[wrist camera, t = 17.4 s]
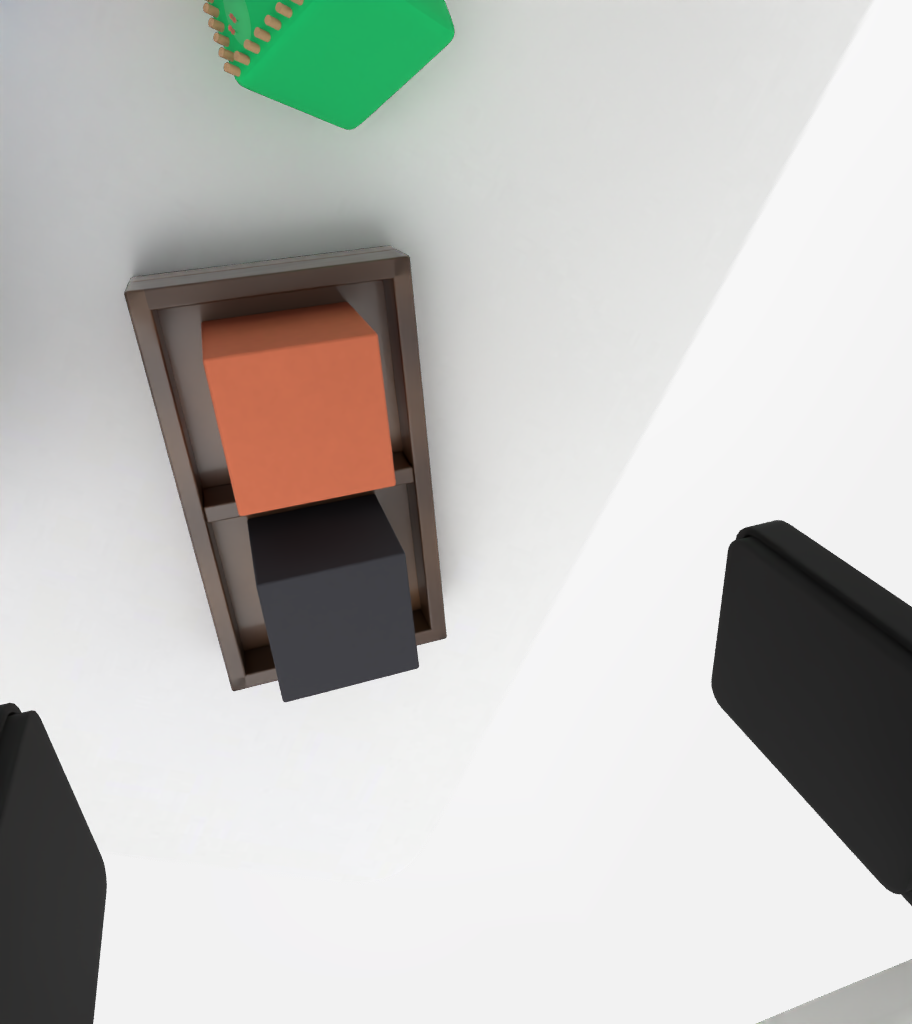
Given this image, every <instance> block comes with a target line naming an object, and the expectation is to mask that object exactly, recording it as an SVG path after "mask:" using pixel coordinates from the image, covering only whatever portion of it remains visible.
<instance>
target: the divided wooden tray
mask: <svg viewBox="0 0 912 1024" xmlns="http://www.w3.org/2000/svg"><path fill="white" fill-rule="evenodd" d="M124 295H125V299H126V302H127V306H128V310H129V313H130V317H131V321H132V324H133V328H134V332H135V335H136V339H137V343H138V346H139V350H140V354H141V357H142V361H143V365H144V368H145V372H146V376H147V379H148V383H149V387H150V390H151V394H152V398H153V401H154V405H155V409H156V412H157V416H158V420H159V423H160V427H161V431H162V434H163V438H164V442H165V446H166V449H167V453H168V457H169V460H170V464H171V468H172V471H173V475H174V479H175V482H176V486H177V490H178V493H179V497H180V501H181V504H182V508H183V512H184V515H185V519H186V523H187V526H188V530H189V534H190V537H191V541H192V545H193V548H194V552H195V556H196V559H197V563H198V567H199V570H200V574H201V578H202V581H203V585H204V589H205V592H206V596H207V600H208V604H209V607H210V611H211V615H212V618H213V622H214V626H215V629H216V633H217V637H218V640H219V644H220V648H221V651H222V655H223V659H224V662H225V666H226V670H227V673H228V677H229V681H230V684H231V688H232V690H233V691H237V690H241V689H245V688H249V687H253V686H257V685H261V684H265V683H269V682H273V681H277V680H278V677H277V673H276V669H275V665H274V660H273V656H272V652H271V648H270V643H269V639H268V635H267V630H266V626H265V622H264V618H263V613H262V609H261V605H260V600H259V596H258V592H257V588H256V581H255V574H254V567H253V560H252V553H251V546H250V539H249V532H248V524H247V520H248V519H251V518H256V517H261V516H266V515H271V514H276V513H281V512H286V511H291V510H296V509H301V508H306V507H311V506H316V505H321V504H326V503H331V502H336V501H341V500H346V499H352V498H357V497H362V496H367V495H372V494H375V495H376V497H377V499H378V501H379V503H380V505H381V507H382V509H383V511H384V513H385V515H386V517H387V519H388V521H389V523H390V525H391V527H392V528H393V530H394V532H395V534H396V536H397V538H398V540H399V542H400V544H401V546H402V548H403V550H404V552H405V555H406V564H407V572H408V580H409V588H410V597H411V605H412V613H413V621H414V630H415V638H416V646H417V645H421V644H425V643H429V642H433V641H437V640H441V639H445V638H446V637H447V635H446V625H445V614H444V604H443V594H442V584H441V573H440V563H439V553H438V542H437V532H436V522H435V512H434V501H433V491H432V481H431V470H430V460H429V450H428V440H427V429H426V419H425V409H424V398H423V388H422V378H421V368H420V357H419V347H418V337H417V326H416V316H415V306H414V296H413V285H412V275H411V265H410V257H409V256H408V255H406V254H404V253H403V252H401V251H399V250H397V249H395V248H393V247H392V246H381V247H373V248H365V249H357V250H349V251H341V252H332V253H324V254H316V255H308V256H300V257H292V258H283V259H275V260H267V261H259V262H251V263H243V264H234V265H226V266H218V267H210V268H202V269H194V270H185V271H177V272H169V273H161V274H153V275H145V276H136V277H132V278H131V279H130V281H129V283H128V285H127V288H126V290H125V293H124ZM341 302H348V303H349V304H350V305H351V306H352V307H353V308H354V309H355V311H356V312H357V313H358V314H359V315H360V316H361V317H362V318H363V319H364V320H365V321H366V322H367V324H368V325H369V326H370V327H371V328H372V329H373V330H374V331H375V332H376V333H377V335H378V340H379V348H380V357H381V365H382V373H383V381H384V389H385V398H386V406H387V414H388V422H389V431H390V439H391V447H392V455H393V463H394V472H395V480H396V484H395V486H391V487H386V488H381V489H376V490H371V491H366V492H361V493H356V494H351V495H346V496H341V497H336V498H331V499H326V500H321V501H316V502H311V503H306V504H301V505H296V506H290V507H285V508H280V509H275V510H270V511H265V512H260V513H255V514H250V515H245V516H240V515H239V514H238V510H237V506H236V501H235V497H234V493H233V489H232V484H231V480H230V476H229V471H228V467H227V463H226V459H225V454H224V450H223V446H222V442H221V437H220V433H219V429H218V425H217V420H216V416H215V412H214V407H213V403H212V399H211V395H210V390H209V386H208V382H207V378H206V373H205V369H204V365H203V354H202V332H201V323H202V322H204V321H210V320H218V319H225V318H232V317H239V316H247V315H254V314H261V313H268V312H276V311H283V310H290V309H297V308H304V307H312V306H319V305H326V304H333V303H341Z"/></svg>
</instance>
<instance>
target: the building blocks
mask: <svg viewBox="0 0 912 1024" xmlns="http://www.w3.org/2000/svg"><path fill="white" fill-rule="evenodd" d="M206 1H208V3H209V4H208V3H205V4H204V6H203V11H204V12H205V13H208V14H210V15H212V16H213V17H214V18H210V19H209V21H208V25H209V27H211V28H213V29H215V30H217V31H218V32H219V33H217V32H216V33H215V34H214V37H213V39H214V41H215V42H217V43H219V44H221V45H223V46H224V48H222V47H221V48H220V49H219V56H220V57H222V58H225V59H227V60H228V61H229V63H228V62H226V63H225V64H224V71H225V72H228V73H230V74H232V75H234V77H235V79H236V80H237V82H238V83H239V84H240V85H241V86H243V87H245V88H247V89H249V90H251V91H254V92H256V93H259V94H261V95H263V96H266V97H268V98H271V99H273V100H276V101H278V102H280V103H283V104H285V105H288V106H290V107H293V108H295V109H297V110H300V111H302V112H305V113H307V114H309V115H312V116H314V117H317V118H319V119H322V120H324V121H326V122H329V123H331V124H334V125H336V126H339V127H341V128H344V129H347V130H351V129H354V128H356V127H357V126H359V125H360V124H361V123H362V122H363V121H365V120H366V119H367V118H368V117H369V116H370V115H371V114H372V113H374V112H375V111H376V110H377V109H378V108H379V107H380V106H381V105H382V104H383V103H384V102H386V101H387V100H388V99H389V98H390V97H391V96H392V95H393V94H394V93H395V92H397V91H398V90H399V89H400V88H401V87H402V86H403V85H404V84H405V83H406V82H407V81H409V80H410V79H411V78H412V77H413V76H414V75H415V74H416V73H417V72H418V71H420V70H421V69H422V68H423V67H424V66H425V65H426V64H427V63H428V62H429V61H430V60H432V59H433V58H434V57H435V56H436V55H437V54H438V53H439V52H440V51H441V50H443V49H444V48H445V47H446V46H447V45H448V44H449V43H450V42H451V40H452V39H453V37H454V33H455V31H454V25H453V22H452V19H451V16H450V14H449V11H448V9H447V6H446V3H445V1H444V0H206Z"/></svg>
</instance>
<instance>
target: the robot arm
mask: <svg viewBox="0 0 912 1024" xmlns="http://www.w3.org/2000/svg"><path fill="white" fill-rule="evenodd" d="M712 690H713V693H714V696H715V698H716V700H717V702H718V704H719V705H720V706H721V708H722V709H723V710H724V711H725V712H726V713H727V714H728V715H729V716H730V718H731V719H732V720H733V721H734V722H735V723H736V724H737V725H738V726H739V727H740V729H741V730H742V731H743V732H744V733H745V734H746V735H747V736H748V737H749V739H750V740H752V742H753V743H754V744H755V745H756V746H757V747H758V748H759V750H761V752H762V753H763V754H764V755H765V756H766V757H767V758H768V759H769V761H770V762H771V763H772V764H773V765H774V766H775V767H776V768H777V769H778V771H779V772H780V773H781V774H782V775H783V776H784V777H785V778H786V779H787V780H788V782H789V783H790V784H791V785H792V786H793V787H794V788H795V789H796V790H797V791H798V792H799V794H800V795H801V796H802V797H803V798H804V799H805V800H806V801H807V803H808V804H809V805H810V806H811V807H812V808H813V809H814V810H815V811H816V812H817V814H819V816H820V817H821V818H822V819H823V820H824V821H825V822H826V823H827V824H828V826H829V827H830V828H831V829H832V830H833V831H834V832H835V833H836V835H837V836H838V837H839V838H840V839H841V840H842V841H843V842H844V843H845V844H846V846H847V847H848V848H849V849H850V850H851V851H852V852H853V853H854V854H855V855H856V856H857V858H858V859H859V860H860V861H861V862H862V863H863V864H864V865H865V866H866V868H867V869H868V870H869V871H870V872H871V873H872V874H873V875H874V876H875V877H876V879H877V880H878V881H879V882H880V883H881V884H882V885H883V886H884V887H885V888H886V889H888V890H889V891H891V892H893V893H895V894H901V895H902V896H903V897H904V898H905V899H906V900H907V901H908V902H909V903H910V904H911V906H912V607H911V606H910V605H908V604H907V603H905V602H904V601H902V600H901V599H899V598H898V597H896V596H895V595H893V594H892V593H890V592H889V591H887V590H886V589H885V588H883V587H881V586H880V585H879V584H877V583H876V582H874V581H873V580H871V579H870V578H868V577H867V576H865V575H864V574H862V573H861V572H859V571H858V570H856V569H855V568H853V567H852V566H850V565H849V564H848V563H846V562H845V561H843V560H842V559H840V558H838V557H837V556H836V555H834V554H833V553H831V552H830V551H828V550H827V549H825V548H824V547H822V546H821V545H819V544H818V543H817V542H815V541H814V540H812V539H811V538H809V537H808V536H806V535H804V534H803V533H802V532H800V531H799V530H797V529H796V528H794V527H793V526H791V525H790V524H788V523H786V522H784V521H780V520H776V521H772V522H767V523H763V524H759V525H755V526H750V527H747V528H744V529H742V530H740V532H739V533H738V534H737V537H736V540H735V541H733V542H732V543H731V544H730V546H729V549H728V555H727V563H726V571H725V579H724V586H723V595H722V603H721V610H720V618H719V626H718V633H717V641H716V649H715V657H714V665H713V673H712ZM106 888H107V883H106V872H105V866H104V862H103V859H102V857H101V854H100V852H99V850H98V847H97V845H96V843H95V841H94V838H93V836H92V834H91V832H90V829H89V827H88V825H87V823H86V820H85V818H84V816H83V814H82V811H81V809H80V807H79V804H78V802H77V800H76V798H75V795H74V793H73V791H72V789H71V786H70V784H69V782H68V780H67V777H66V775H65V773H64V771H63V768H62V766H61V764H60V762H59V759H58V757H57V755H56V752H55V750H54V748H53V746H52V743H51V741H50V739H49V737H48V734H47V732H46V730H45V728H44V725H43V723H42V721H41V719H40V717H39V715H38V714H37V713H36V712H35V711H28V712H23V713H21V711H20V709H19V708H18V707H17V706H16V705H15V704H13V703H7V704H3V705H0V1024H93V1019H94V1010H95V1000H96V990H97V979H98V969H99V959H100V950H101V940H102V929H103V920H104V910H105V900H106ZM757 1024H912V959H911V960H909V961H906V962H904V963H902V964H899V965H897V966H894V967H892V968H889V969H887V970H884V971H882V972H880V973H877V974H875V975H872V976H870V977H867V978H865V979H863V980H860V981H858V982H855V983H853V984H851V985H848V986H846V987H843V988H841V989H839V990H836V991H834V992H831V993H829V994H827V995H824V996H821V997H819V998H817V999H814V1000H812V1001H809V1002H807V1003H805V1004H802V1005H800V1006H797V1007H795V1008H793V1009H790V1010H788V1011H785V1012H783V1013H781V1014H778V1015H776V1016H773V1017H771V1018H769V1019H766V1020H764V1021H762V1022H759V1023H757Z"/></svg>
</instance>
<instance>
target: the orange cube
mask: <svg viewBox="0 0 912 1024" xmlns="http://www.w3.org/2000/svg"><path fill="white" fill-rule="evenodd" d="M201 332H202V354H203V365H204V369H205V373H206V378H207V382H208V386H209V390H210V395H211V399H212V403H213V407H214V412H215V416H216V420H217V425H218V429H219V433H220V437H221V442H222V446H223V450H224V454H225V459H226V463H227V467H228V471H229V476H230V480H231V484H232V489H233V493H234V497H235V501H236V506H237V510H238V514H239V515H240V516H245V515H250V514H255V513H260V512H265V511H270V510H275V509H280V508H285V507H290V506H296V505H301V504H306V503H311V502H316V501H321V500H326V499H331V498H336V497H341V496H346V495H351V494H356V493H361V492H366V491H371V490H376V489H381V488H386V487H391V486H395V484H396V480H395V472H394V463H393V455H392V447H391V439H390V431H389V422H388V414H387V406H386V398H385V389H384V381H383V373H382V365H381V357H380V348H379V340H378V335H377V333H376V332H375V331H374V330H373V329H372V328H371V327H370V326H369V325H368V324H367V322H366V321H365V320H364V319H363V318H362V317H361V316H360V315H359V314H358V313H357V312H356V311H355V309H354V308H353V307H352V306H351V305H350V304H349V303H348V302H341V303H333V304H326V305H319V306H312V307H304V308H297V309H290V310H283V311H276V312H268V313H261V314H254V315H247V316H239V317H232V318H225V319H218V320H210V321H204V322H202V323H201Z"/></svg>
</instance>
